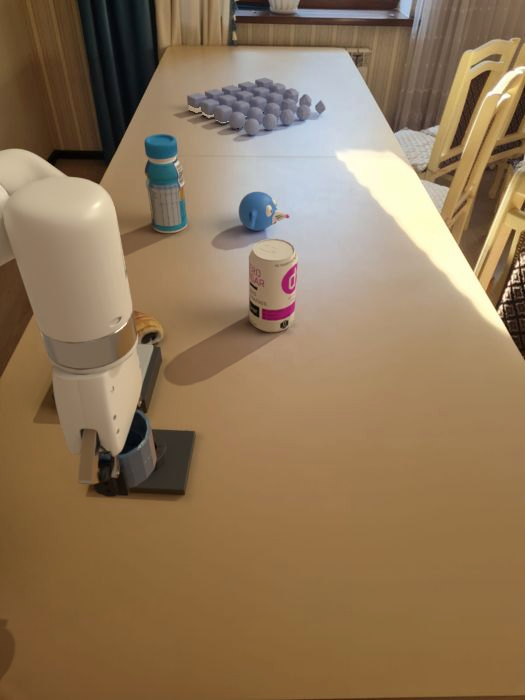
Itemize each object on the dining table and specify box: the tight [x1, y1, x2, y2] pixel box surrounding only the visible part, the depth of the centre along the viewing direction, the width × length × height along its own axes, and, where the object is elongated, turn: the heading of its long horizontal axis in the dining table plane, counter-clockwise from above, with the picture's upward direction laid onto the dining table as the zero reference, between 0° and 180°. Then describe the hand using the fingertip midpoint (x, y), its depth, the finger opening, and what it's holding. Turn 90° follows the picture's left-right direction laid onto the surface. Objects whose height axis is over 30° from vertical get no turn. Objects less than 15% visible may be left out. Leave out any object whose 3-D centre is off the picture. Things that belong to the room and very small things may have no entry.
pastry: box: [133, 310, 165, 345], centre depth 95 cm, size 9×7×4 cm
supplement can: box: [248, 238, 299, 333], centre depth 95 cm, size 8×8×15 cm
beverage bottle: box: [143, 133, 188, 234], centre depth 119 cm, size 8×8×20 cm
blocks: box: [186, 77, 327, 136], centre depth 184 cm, size 35×34×5 cm
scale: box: [51, 344, 163, 414], centre depth 85 cm, size 14×12×4 cm
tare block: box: [93, 428, 197, 496], centre depth 74 cm, size 12×10×3 cm
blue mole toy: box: [238, 191, 291, 232], centre depth 122 cm, size 12×12×8 cm
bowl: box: [98, 409, 157, 488], centre depth 55 cm, size 7×7×6 cm
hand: (123, 460), depth 57 cm, fingers closed on bowl, 6 cm apart
